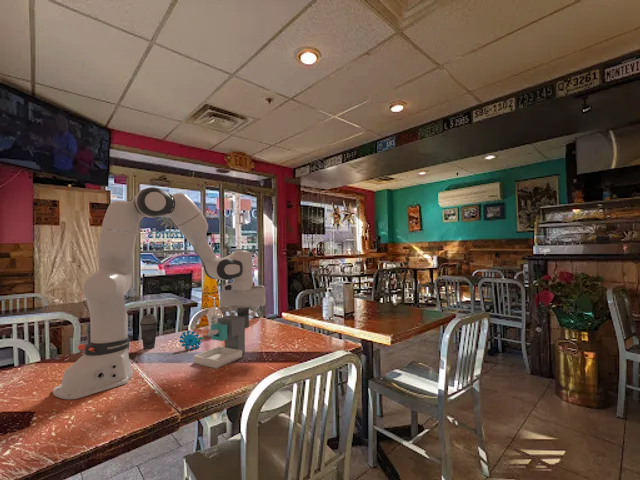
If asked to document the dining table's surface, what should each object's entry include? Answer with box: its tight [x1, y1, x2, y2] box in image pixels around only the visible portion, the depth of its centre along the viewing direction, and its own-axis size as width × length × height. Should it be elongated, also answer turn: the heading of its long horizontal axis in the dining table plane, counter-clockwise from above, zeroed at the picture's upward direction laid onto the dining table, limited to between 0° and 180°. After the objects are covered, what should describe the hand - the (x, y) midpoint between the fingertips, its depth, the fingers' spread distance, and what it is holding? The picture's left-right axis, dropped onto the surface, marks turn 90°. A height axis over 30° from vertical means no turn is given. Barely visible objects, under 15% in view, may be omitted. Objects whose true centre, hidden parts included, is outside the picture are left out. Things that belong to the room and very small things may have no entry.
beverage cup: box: [139, 304, 159, 350], centre depth 146 cm, size 7×7×20 cm
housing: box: [218, 314, 246, 355], centre depth 136 cm, size 8×8×16 cm
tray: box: [192, 345, 243, 370], centre depth 129 cm, size 14×13×3 cm
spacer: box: [210, 323, 227, 342], centre depth 130 cm, size 3×6×6 cm, turn 62°
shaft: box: [206, 306, 250, 338], centre depth 135 cm, size 22×4×9 cm, turn 152°
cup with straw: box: [205, 295, 224, 331], centre depth 171 cm, size 8×9×20 cm
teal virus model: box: [179, 329, 204, 351], centre depth 147 cm, size 11×6×10 cm
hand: (243, 316), depth 143 cm, fingers open, 8 cm apart
